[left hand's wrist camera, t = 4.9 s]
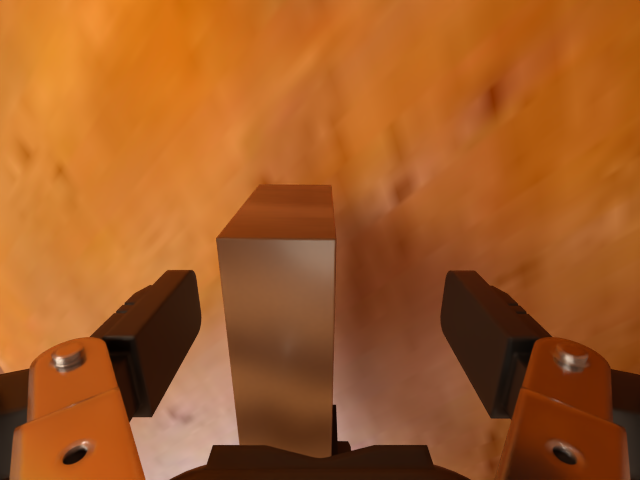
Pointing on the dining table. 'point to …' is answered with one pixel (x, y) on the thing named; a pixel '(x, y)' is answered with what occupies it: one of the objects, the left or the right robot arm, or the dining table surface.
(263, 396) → the box
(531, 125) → the dining table surface
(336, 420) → the right robot arm
